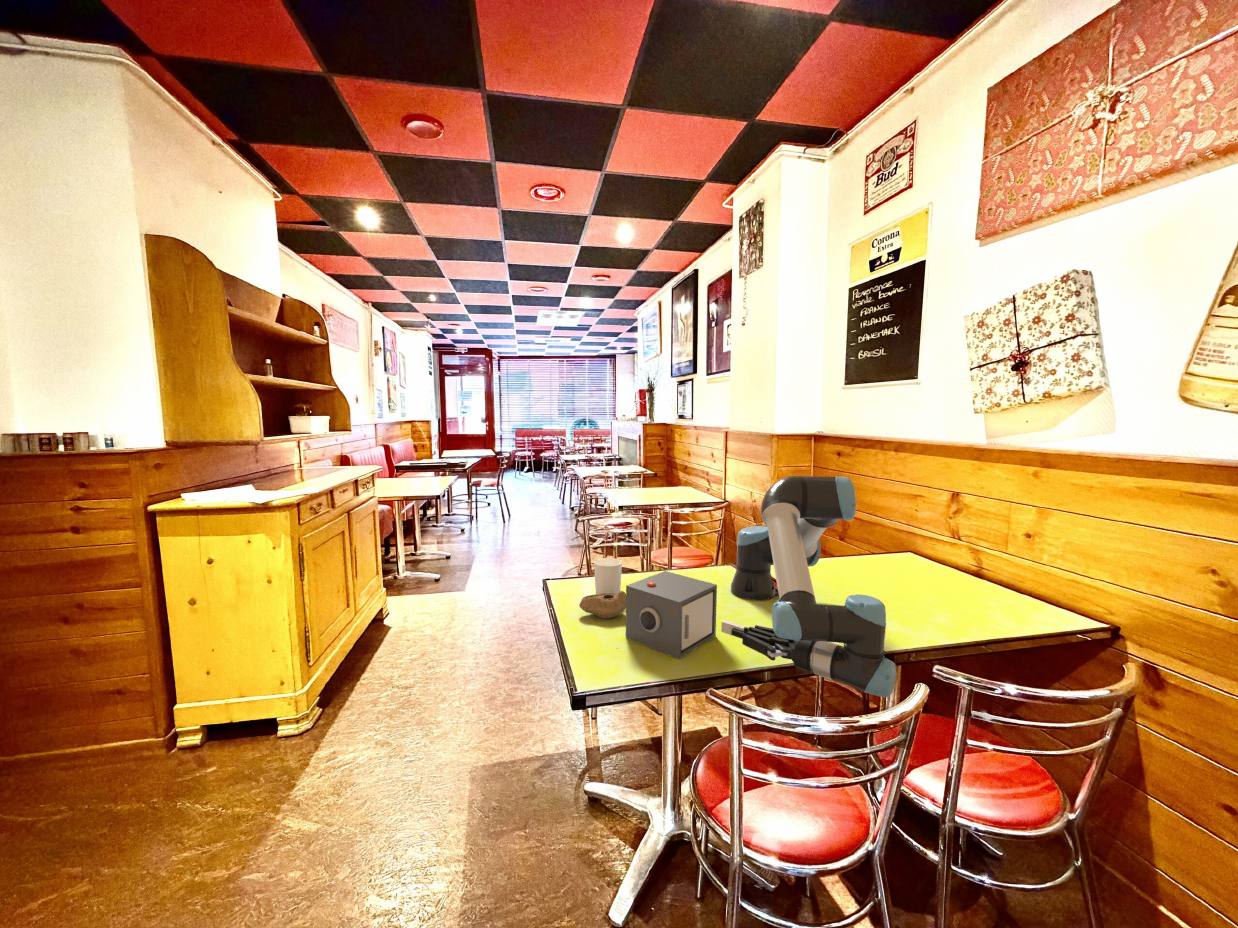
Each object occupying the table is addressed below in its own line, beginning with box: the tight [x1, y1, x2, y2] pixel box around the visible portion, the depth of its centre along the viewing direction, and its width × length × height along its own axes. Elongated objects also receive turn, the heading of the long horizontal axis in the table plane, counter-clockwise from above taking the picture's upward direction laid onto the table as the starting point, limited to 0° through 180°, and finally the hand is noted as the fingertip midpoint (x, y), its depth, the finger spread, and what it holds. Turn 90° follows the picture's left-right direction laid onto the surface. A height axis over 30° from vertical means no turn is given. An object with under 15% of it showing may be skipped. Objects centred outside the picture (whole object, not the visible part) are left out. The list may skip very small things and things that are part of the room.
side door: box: [681, 591, 713, 650], centre depth 129 cm, size 15×1×12 cm, turn 137°
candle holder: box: [593, 557, 623, 595], centre depth 167 cm, size 10×10×12 cm
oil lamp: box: [578, 590, 626, 620], centre depth 150 cm, size 11×15×8 cm
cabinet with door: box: [625, 570, 718, 660], centre depth 134 cm, size 20×18×16 cm
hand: (723, 625), depth 124 cm, fingers closed
